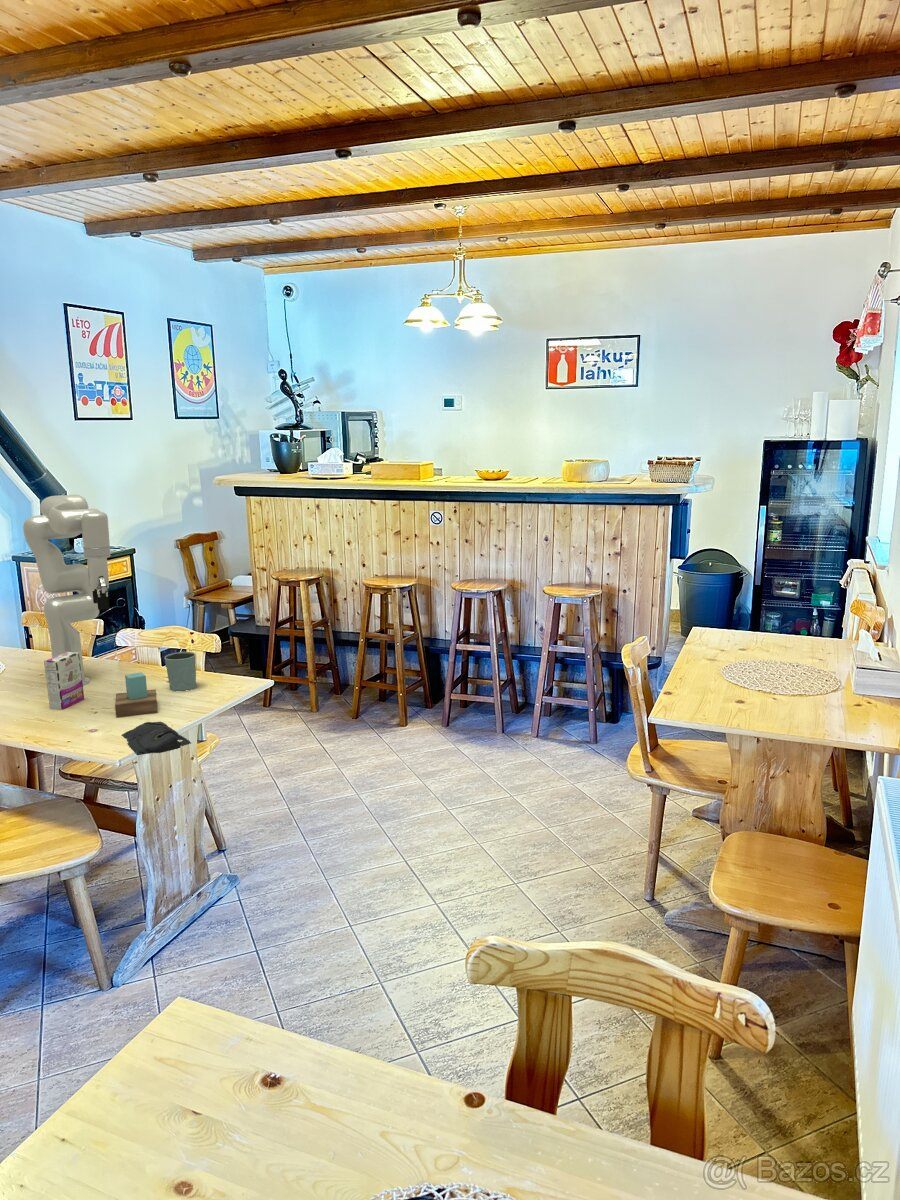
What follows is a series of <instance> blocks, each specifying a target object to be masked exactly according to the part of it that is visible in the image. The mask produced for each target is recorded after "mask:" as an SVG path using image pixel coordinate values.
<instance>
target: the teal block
mask: <svg viewBox="0 0 900 1200" xmlns="http://www.w3.org/2000/svg"><path fill="white" fill-rule="evenodd" d="M124 676H125V677H124V678H125V688H126V692H127V697H128V698H129V699H131V700H134V699H140V698H145V697H148V696H147V690H148V688H147V686H148V685H147V677H146V675H145V674H144V673H143V672H141V671H140V672H134V673H128V674H125V675H124Z"/></svg>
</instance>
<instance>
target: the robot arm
mask: <svg viewBox="0 0 900 1200" xmlns="http://www.w3.org/2000/svg"><path fill="white" fill-rule="evenodd" d="M39 511H40V513H41V515H33V516H31V517H28V518H27V519H25V520H24V521H23V525H22V528H23V529H22V530H23V537H24V539H25V542H26V543H27V546H28V548H29V549H30V551H31V552H32V554H33V556H34V558H35V562H36V566H37V570H38V573H39V578H40V582H41V585H42V588H43V590H44V592H46V593H47V594H50V595H51V594H52V595H53V594H54V595H55V594H57V595H58V594H65V593H72V592H73V593H74V592H77V593H76V594H68V595H62V596H56V597H52V598H49V599H48V600H46V601H45V603H44V605H43V612H44V613H43V614H44V617H45V620H46V624H47V627H48V629H47V630H48V633H49V642H50V643H49V644H50V649H51V650H50V651H51V658H53V657H55V656H58V655H60V654H63V653H65V652H79V658H80V666H81V676H82V683H83V687H85V686H86V685H89V683H90V678H89V677H87V676H85V670H84V662H83V660H84V659H83V653H82V652H83V650H82V643H81V642H82V641H81V634H80V632H79V631H78V630H77V629H76V628H75V627H74V626H73V624H74V623H77V622H84V621H89V620H94V619H96V618H97V617H98V616H99V615H100V611H105V610H109V609H110V599H109V594H108V593H109V592H108V589H109V587H110V586H109V585H110V584H109V583H110V582H109V566H108V558H110V557H111V545H110V544H111V543H110V532H109V529H110V528H109V518H108V515H107V513H106V512H104V511H101V510H99V509H97V508H89V503H88V501H87V500H86V498H85V497H84V496H82V495H80V494H66V495H65V494H64V495H63V494H61V495H52V496H51V495H50V496H47V497H45V498H43V500H42V501H41V502H40V505H39ZM80 534H81V535H82V546H83V558H84V559H87V560H86V561H87V566H86V565H85V564H82V563H74V564H66V562H65V559H64V555H63V553H62V551H61V550H60V549H59V547H58V546H57V545H55V544H54V543H53V542H51V541H50V540H57V539H59V540H60V539H73V538H75V537H77V536H79V535H80Z"/></svg>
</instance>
